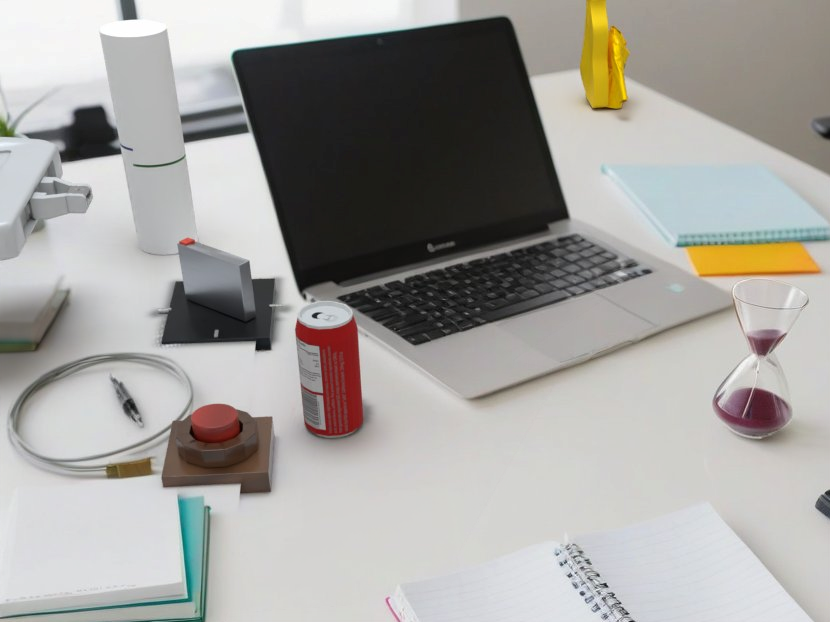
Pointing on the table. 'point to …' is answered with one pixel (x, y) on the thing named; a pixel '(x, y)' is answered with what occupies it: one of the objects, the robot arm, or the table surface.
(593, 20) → the figure statuette
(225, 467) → the button block
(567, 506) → the table surface
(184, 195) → the cylindrical container
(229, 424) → the button
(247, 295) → the grey upright flat block
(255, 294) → the panel
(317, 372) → the soda can
